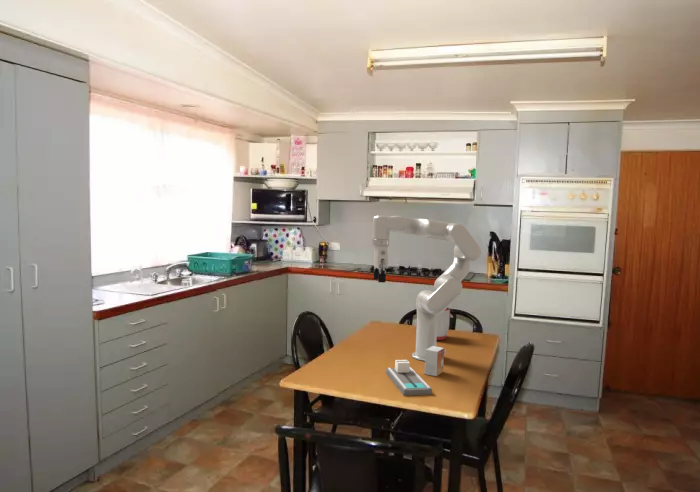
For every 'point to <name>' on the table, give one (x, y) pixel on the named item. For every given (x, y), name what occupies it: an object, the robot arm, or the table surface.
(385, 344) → the table surface
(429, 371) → the small box
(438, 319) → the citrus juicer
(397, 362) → the fader knob
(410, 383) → the fader board
